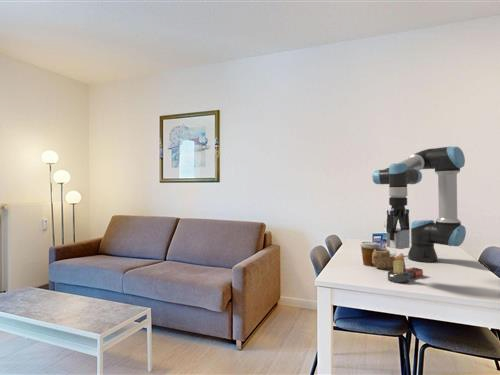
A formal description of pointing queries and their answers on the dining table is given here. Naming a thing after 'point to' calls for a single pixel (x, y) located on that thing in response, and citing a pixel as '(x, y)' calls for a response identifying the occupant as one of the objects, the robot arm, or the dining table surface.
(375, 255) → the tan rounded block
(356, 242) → the dining table surface
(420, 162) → the robot arm
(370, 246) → the disposable coffee cup
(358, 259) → the dining table surface
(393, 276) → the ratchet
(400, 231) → the grey upright box
